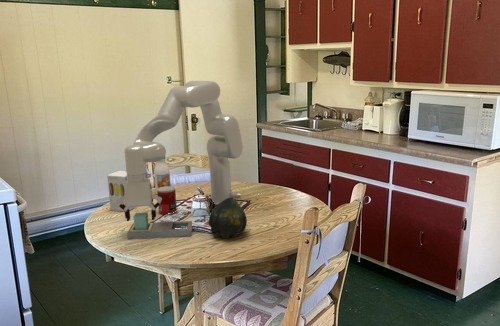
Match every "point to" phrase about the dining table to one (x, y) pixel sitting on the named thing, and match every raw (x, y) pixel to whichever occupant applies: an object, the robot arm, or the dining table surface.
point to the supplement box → (117, 189)
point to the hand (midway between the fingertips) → (141, 219)
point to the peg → (141, 221)
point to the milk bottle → (161, 174)
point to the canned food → (167, 199)
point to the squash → (228, 218)
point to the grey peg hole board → (161, 230)
